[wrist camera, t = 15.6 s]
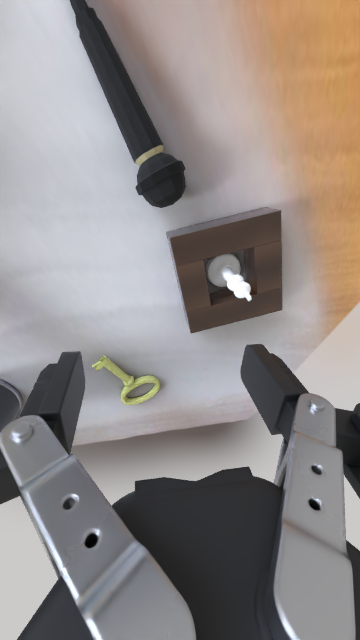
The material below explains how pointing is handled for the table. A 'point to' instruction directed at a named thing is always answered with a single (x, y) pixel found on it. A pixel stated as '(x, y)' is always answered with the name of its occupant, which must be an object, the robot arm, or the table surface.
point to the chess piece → (228, 275)
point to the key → (129, 381)
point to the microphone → (130, 114)
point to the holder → (222, 238)
